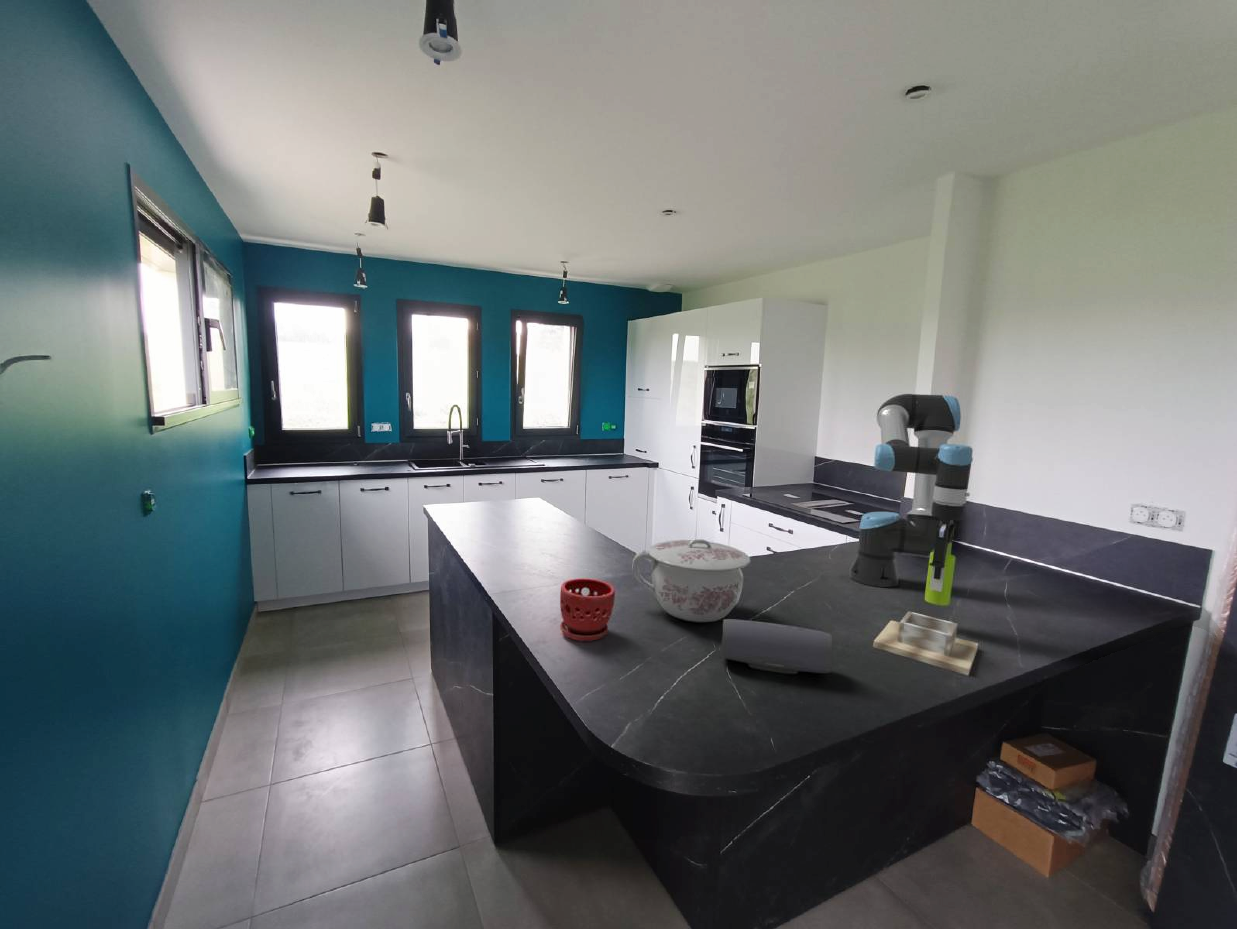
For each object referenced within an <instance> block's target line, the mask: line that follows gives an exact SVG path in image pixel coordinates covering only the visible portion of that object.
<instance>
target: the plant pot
mask: <svg viewBox="0 0 1237 929" xmlns="http://www.w3.org/2000/svg"><path fill="white" fill-rule="evenodd" d="M585 588H586V589H588V591H589V592H588V594H587V595H584V594H583V593H582V591H583V589H585ZM577 590H578V591H577ZM615 592H616V589H615V588H614V586H613V585H612V584H610V583H608V582H605V581H603V580H599V579H594V578H583V577H582V578H571V579H569V580H565V581H564V582H563V583H562V584H561V586H560V592H559V594H560V595H559V597H560V598H559V602H560V603H559V604H560V606H559V607H560V608H559V609H560V613H561V618H562V621H561V622H560V624H559V627H560V630H561V633H563V634H564V635H565V636H566V637H568V638H569V639H572V640H576V641H581V642H590V641H595V640H599V639H601V638H603V637H605V635H606V634H607V633H608V632H609V627H608V622H609V621H610V618H611V616H612V612H613V609H614V605H615V604H614V603H615V597H616V596H615V595H616V593H615ZM595 593H596V594H595Z"/></svg>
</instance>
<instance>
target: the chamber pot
mask: <svg viewBox="0 0 1237 929" xmlns="http://www.w3.org/2000/svg"><path fill="white" fill-rule="evenodd" d="M642 559H646V560H648V561H650V563H651V564H650V570H651V581H652V583H650V582H649V581H647V580H646V579H644V577H643V576H642V575H641V573H640V572H639V567H638V566H639V563H640V560H642ZM750 564H751V557H750V556H749V555H748V554H746V552H745V551H742V550H740V549H738V548H735V547H732V546H729V545H726V544H722V543H718V542H714V541H708V540H706V539H703V538H702V539H701V538H700V539H676V540H669V541H667V540H666V541H661V542H658V543H655V544H653V545H651V546H650V547H649V549H648V550H647V551H646V550H640V551H638V552H637V553H636V554H635V556H634V558H633V559H632V565H631V570H632V574H633V576H634V577H635V578H636V580H637V582H638V583H639V584H641V585H642V586H644V587H645V588H646V589H648V590H649V592H650V593H651V594H652V596H654V598H655V600H656V601H658V602H659V604H660V605H661V607H662V609H663V610H664V611H665V612H666V613H667V614H668V615H669V616H672V617H674V618H677V619H679V620H682V621H687V622H691V623H709V622H717V621H719V620H722V619H723V620H724V619H725V618H726V617H727V616H728V615H729V614H730V612H731V611H732V610H733V609H734V608H735V606H736V605H737V604H738V602H739V600H740V597H741V594H742V591H743V587H744V586H743V585H744V573H743V570H742V569H743V568H745V567H747V566H748V565H750Z"/></svg>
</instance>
